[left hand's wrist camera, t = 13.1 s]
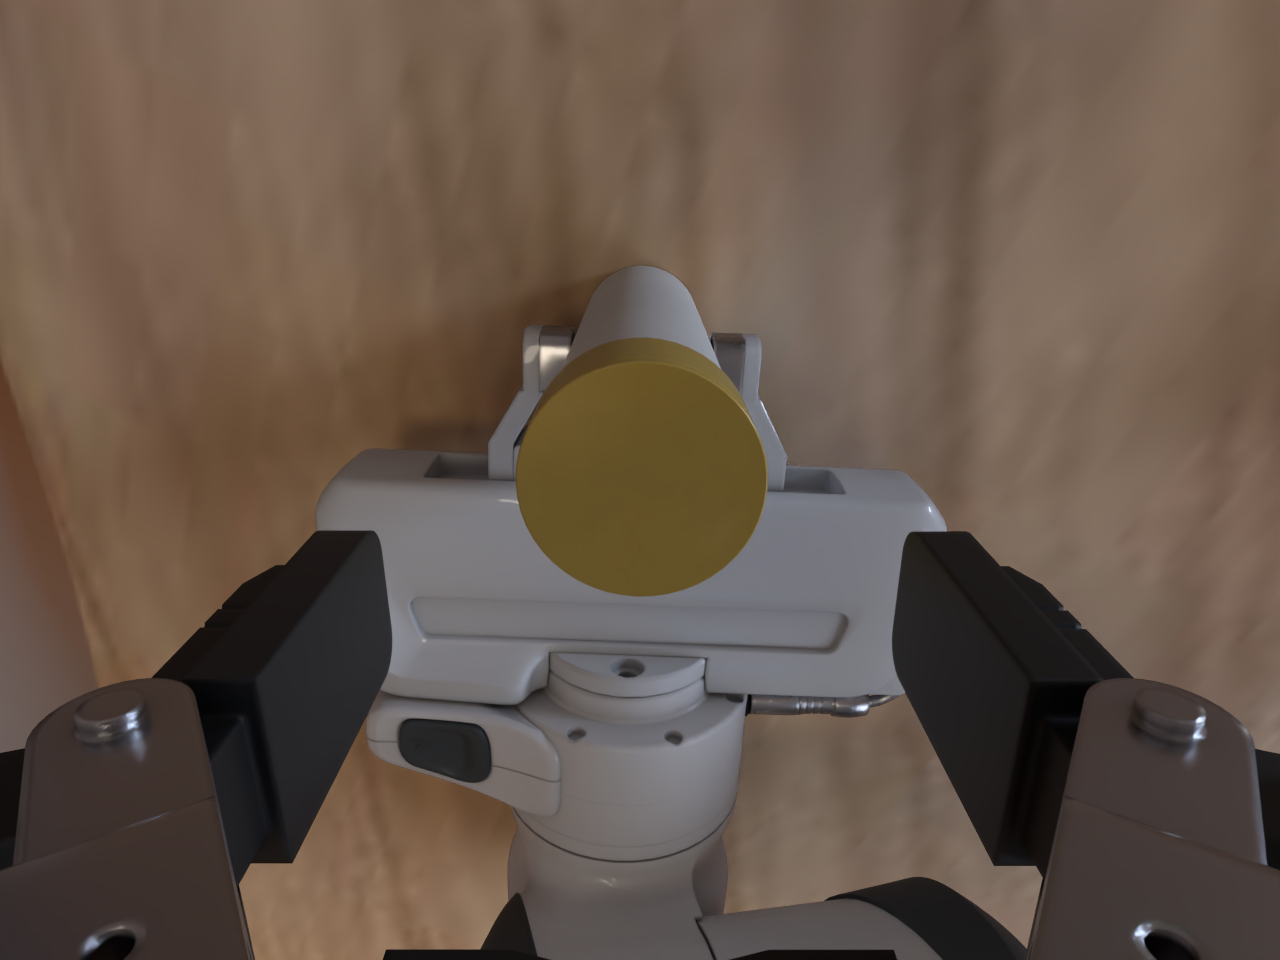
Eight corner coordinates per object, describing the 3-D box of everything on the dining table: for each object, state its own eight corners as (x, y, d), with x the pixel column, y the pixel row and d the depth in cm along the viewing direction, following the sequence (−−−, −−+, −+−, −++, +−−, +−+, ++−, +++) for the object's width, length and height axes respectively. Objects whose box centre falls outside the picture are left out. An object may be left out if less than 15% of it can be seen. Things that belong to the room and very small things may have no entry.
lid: (486, 461, 17) (464, 502, 15) (624, 288, 16) (622, 306, 14) (656, 586, 18) (657, 640, 16) (798, 432, 17) (821, 469, 15)
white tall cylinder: (563, 330, 32) (482, 491, 16) (633, 241, 30) (624, 316, 14) (648, 399, 33) (656, 617, 17) (720, 315, 31) (802, 462, 15)
